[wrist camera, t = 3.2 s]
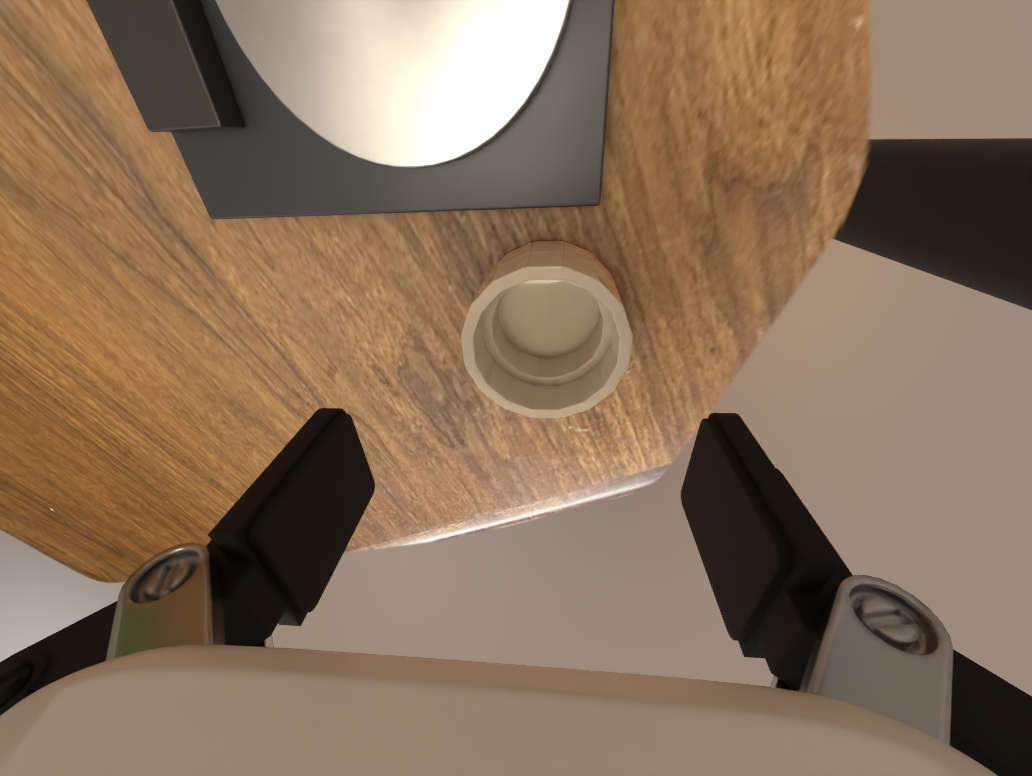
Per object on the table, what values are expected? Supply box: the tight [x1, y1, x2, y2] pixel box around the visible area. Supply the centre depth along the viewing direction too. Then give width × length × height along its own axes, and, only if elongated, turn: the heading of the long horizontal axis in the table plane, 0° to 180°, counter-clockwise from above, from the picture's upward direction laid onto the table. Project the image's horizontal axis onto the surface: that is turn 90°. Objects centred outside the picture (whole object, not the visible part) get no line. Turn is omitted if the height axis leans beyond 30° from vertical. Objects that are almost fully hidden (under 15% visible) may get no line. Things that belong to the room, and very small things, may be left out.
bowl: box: [461, 241, 633, 418], centre depth 17 cm, size 7×7×5 cm
